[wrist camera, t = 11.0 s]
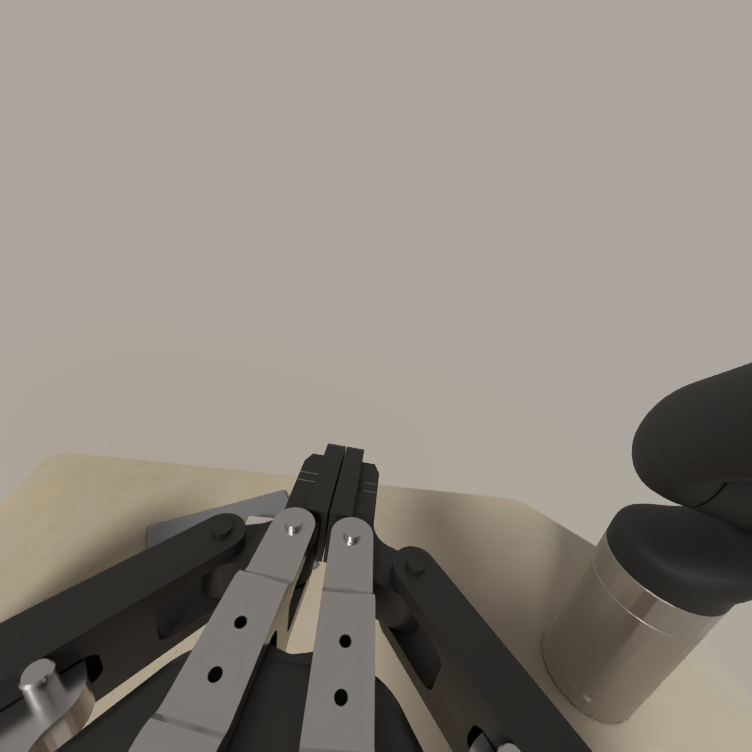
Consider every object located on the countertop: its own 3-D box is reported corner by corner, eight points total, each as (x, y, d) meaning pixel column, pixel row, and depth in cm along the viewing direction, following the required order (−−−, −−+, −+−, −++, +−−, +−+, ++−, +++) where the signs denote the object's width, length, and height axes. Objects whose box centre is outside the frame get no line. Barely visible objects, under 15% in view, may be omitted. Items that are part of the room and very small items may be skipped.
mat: (284, 491, 55) (284, 489, 55) (317, 567, 45) (317, 565, 44) (147, 528, 46) (146, 526, 46) (149, 634, 35) (148, 632, 35)
